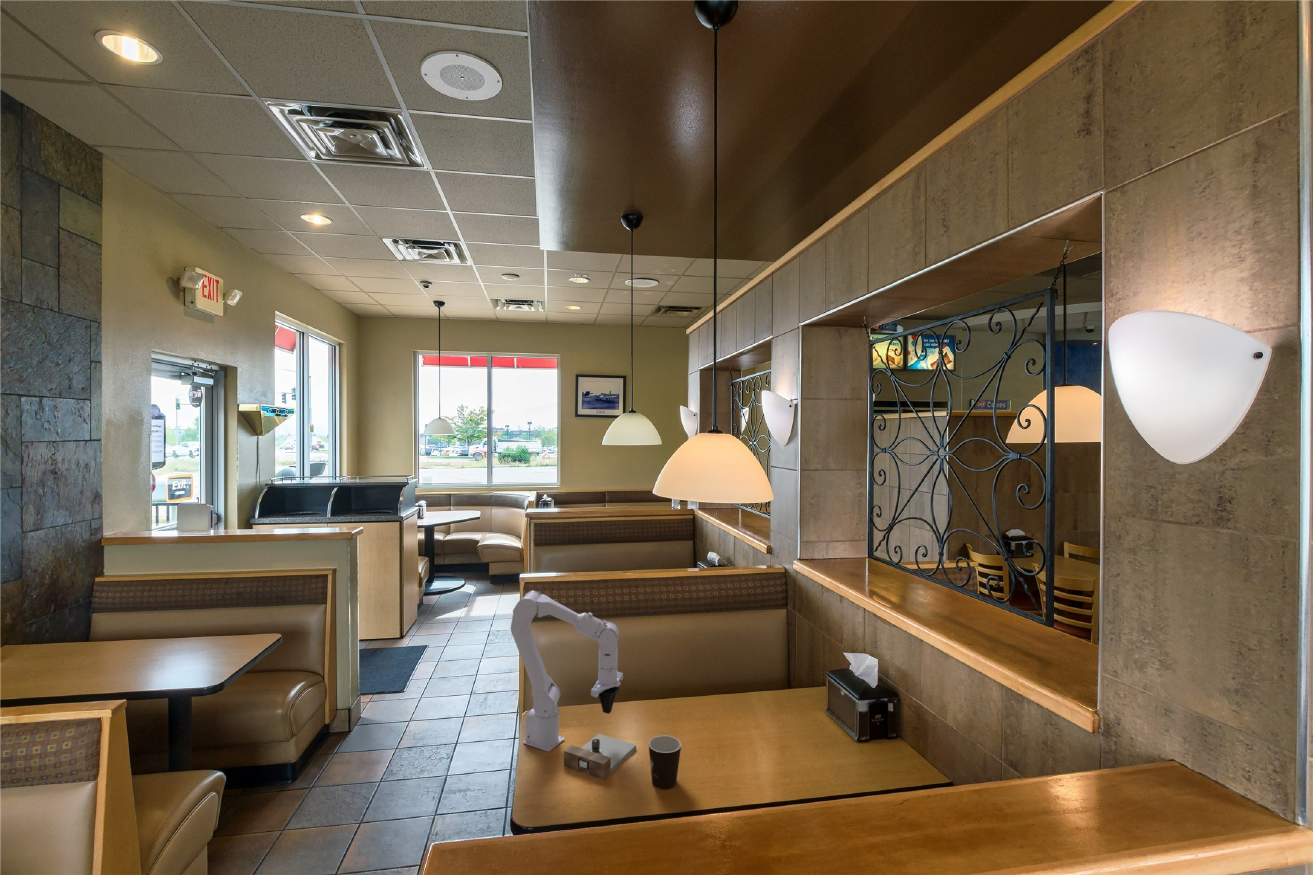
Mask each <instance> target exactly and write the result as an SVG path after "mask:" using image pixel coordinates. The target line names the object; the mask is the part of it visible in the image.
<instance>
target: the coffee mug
mask: <svg viewBox="0 0 1313 875" xmlns="http://www.w3.org/2000/svg"><path fill="white" fill-rule="evenodd" d="M681 749H682V742H681V741H680V739H678V738H677V737H674V736H672V735H665V734H663V735H657V736H654V737H652V738H650V740H648V752H649V764H650V774H651V783H652V786H653V787H655V788H656V789H659V790H671V789H673V788H674V787H675V786H676V785H677V780H678V779H677V778H678V772H679V771H678V770H679V766H680V765H679V764H680V758H681Z"/></svg>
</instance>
